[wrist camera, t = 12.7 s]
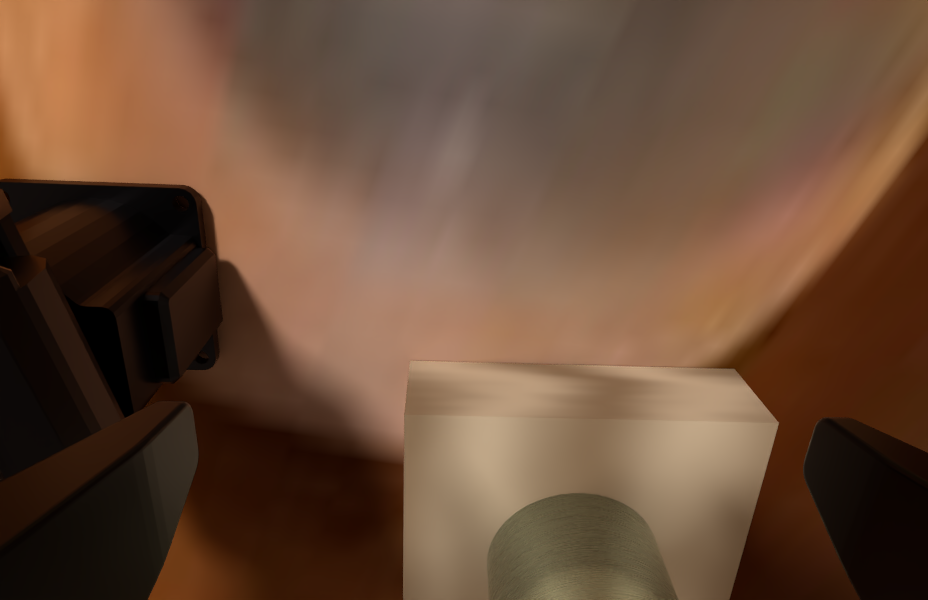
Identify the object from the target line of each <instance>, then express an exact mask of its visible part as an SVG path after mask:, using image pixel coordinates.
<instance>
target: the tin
mask: <svg viewBox="0 0 928 600" xmlns="http://www.w3.org/2000/svg"><path fill="white" fill-rule="evenodd" d="M487 575H488V593H489V600H678V597H677V594H676V592H675V589H674V587H673V584H672V582H671V579H670V576H669V574H668V571H667V569H666V566H665V563H664V561H663V558H662V556H661V553H660V550H659V548H658V545H657V543H656V540H655V537H654V535H653V532H652V531H651V529H650V527H649V525H648V524H647V523H646V521H645V520H644V519H643V518H642V517H641V516H640V515H639V514H638V513H637V512H636V511H635V510H633V509H632V508H630V507H629V506H627V505H625V504H623V503H621V502H619V501H617V500H614V499H612V498H609V497H605V496H601V495H596V494H588V493H569V494H560V495H555V496H550V497H547V498H544V499H541V500H538V501H536V502H534V503H531V504H529V505H527V506H525V507H524V508H522V509H520V510H519V511H517V512H516V513H515V514H513V515H512V516H511V517H510V518H509V519H508V520H507V521H506V522H504V523H503V525H502V526H501V527H500V528H499V530H498V531H497V533H496V534H495V536H494V538H493V539H492V542H491V544H490V547H489V551H488V555H487Z"/></svg>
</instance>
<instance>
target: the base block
mask: <svg viewBox="0 0 928 600" xmlns="http://www.w3.org/2000/svg"><path fill="white" fill-rule="evenodd" d="M778 424H779V423H778V422H777V420H776V419H775V418H774V417H773V415H772V414H771V413H770V412H769V411H768V409H767V408H766V407H765V406H764V404H763V403H762V402H761V401H760V400H759V398H758V397H757V396H756V395H755V394H754V392H753V391H752V390H751V389H750V387H749V386H748V385H747V384H746V383H745V381H744V380H743V379H742V378H741V377H740V375H739V374H738V373H737V372H736V370H735V369H712V368H673V367H634V366H595V365H556V364H517V363H478V362H439V361H410V366H409V376H408V385H407V394H406V404H405V413H404V531H403V600H489V593H488V575H487V555H488V551H489V547H490V544H491V542H492V539H493V538H494V536H495V534H496V533H497V531H498V530H499V528H500V527H501V526H502V525H503V523H504V522H506V521H507V520H508V519H509V518H510V517H511V516H512V515H513V514H515V513H516V512H517V511H519V510H520V509H522V508H524V507H525V506H527V505H529V504H531V503H534V502H536V501H538V500H541V499H544V498H547V497H550V496H555V495H560V494H569V493H588V494H596V495H601V496H605V497H609V498H612V499H614V500H617V501H619V502H621V503H623V504H625V505H627V506H629V507H630V508H632V509H633V510H635V511H636V512H637V513H638V514H639V515H640V516H641V517H642V518H643V519H644V520H645V521H646V523H647V524H648V525H649V527H650V529H651V531H652V532H653V535H654V537H655V540H656V543H657V545H658V548H659V550H660V553H661V556H662V558H663V561H664V563H665V566H666V569H667V571H668V574H669V576H670V579H671V582H672V584H673V587H674V589H675V592H676V594H677V597H678V600H729V599H730V596H731V592H732V588H733V585H734V581H735V578H736V574H737V571H738V567H739V563H740V560H741V556H742V553H743V549H744V546H745V542H746V538H747V535H748V531H749V528H750V524H751V521H752V517H753V513H754V510H755V506H756V503H757V499H758V496H759V492H760V489H761V485H762V481H763V478H764V474H765V471H766V467H767V464H768V460H769V456H770V453H771V449H772V446H773V442H774V439H775V435H776V431H777V428H778Z"/></svg>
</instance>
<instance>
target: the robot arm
mask: <svg viewBox="0 0 928 600" xmlns="http://www.w3.org/2000/svg"><path fill="white" fill-rule="evenodd" d="M3 190H4V191H5V192H6V193H8V195H9V197H10V202H8V200H7V198H6V196H5V194H4V192H3ZM177 196H182V197H184V198H186V199H187V201H188V203H189V206H188V208H183V207H181V206H180V205H179V204H178V202H177ZM222 320H223V317H222V309H221V300H220V291H219V283H218V274H217V266H216V257H215V254H214V253H213V252H212V251H211V250H210V249H209V248H207V246H206V238H205V230H204V222H203V214H202V205H201V200H200V196H199V194H198V193H197V192H196V191H195V190H194V189H193V188H191V187H189V186H185V185H167V184H139V183H111V182H83V181H55V180H27V179H1V180H0V600H148V598H149V596H150V593H151V591H152V589H153V587H154V585H155V583H156V581H157V578H158V576H159V574H160V572H161V569H162V567H163V565H164V562H165V559H166V557H167V554H168V551H169V549H170V546H171V543H172V540H173V537H174V534H175V531H176V528H177V525H178V522H179V519H180V516H181V513H182V510H183V507H184V504H185V501H186V498H187V495H188V492H189V489H190V486H191V483H192V480H193V477H194V474H195V471H196V468H197V464H198V457H199V452H198V444H197V437H196V430H195V423H194V416H193V410H192V408H191V406H190V405H189V404H188V403H187V402H183V401H158V402H156V403H154V404H152V405H150V406H148V407H146V408H144V407H145V405H146V404H147V403H148V402H149V400H150V399H151V398H152V396H153V395H154V394H155V393H156V391H157V390H158V389H159V387H160V386H161V385H162V384H163V383H166V384H173V383H175V382H176V381H177V380H178V379H179V378H180V377H181V376H182V375H183V374H184V372H185V371H186V370H206V369H209V368H211V367H213V365H214V364H215V362H216V361H217V359H218V358H219V345H218V337H217V328H218V326H219V325H220V324H221V322H222ZM200 351H203V352H205V353H206V354H207V355H208V357H209V358H202V357H201V356H200V355H199V354H198V353H199V352H200ZM143 408H144V409H143ZM803 473H804V478H805V481H806V484H807V486H808V488H809V491H810V493H811V495H812V498H813V500H814V502H815V504H816V507H817V509H818V511H819V514H820V516H821V518H822V520H823V523H824V525H825V527H826V529H827V532H828V534H829V536H830V539H831V541H832V543H833V545H834V548H835V550H836V552H837V555H838V557H839V559H840V561H841V563H842V565H843V567H844V570H845V572H846V574H847V576H848V578H849V579H850V581H851V583H852V585H853V587H854V589H855V591H856V593H857V594H858V596H859V598H860V600H928V453H927V452H925V451H923V450H920V449H918V448H916V447H914V446H912V445H909V444H907V443H905V442H903V441H901V440H898V439H896V438H894V437H892V436H890V435H887V434H885V433H883V432H881V431H879V430H876V429H874V428H872V427H870V426H868V425H865V424H863V423H861V422H859V421H857V420H854V419H852V418H840V417H825V418H822V419H820V420H819V421H818V422H817V423H816V426H815V428H814V431H813V434H812V438H811V441H810V444H809V447H808V451H807V454H806V457H805V460H804V465H803Z"/></svg>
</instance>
